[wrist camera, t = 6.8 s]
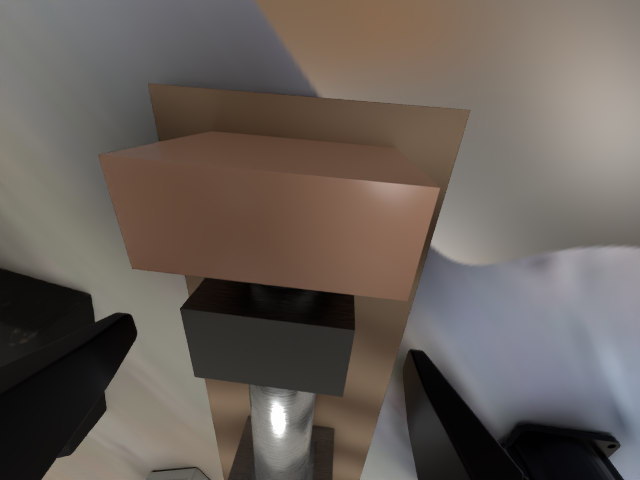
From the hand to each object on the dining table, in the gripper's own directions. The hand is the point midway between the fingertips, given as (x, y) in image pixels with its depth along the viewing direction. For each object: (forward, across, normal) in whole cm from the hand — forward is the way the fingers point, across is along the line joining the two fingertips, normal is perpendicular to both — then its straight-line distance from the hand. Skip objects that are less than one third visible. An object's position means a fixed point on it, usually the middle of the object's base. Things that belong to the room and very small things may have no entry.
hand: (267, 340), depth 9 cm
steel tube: (+5, 0, +7) cm, 8 cm away
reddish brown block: (+5, 0, -4) cm, 6 cm away
